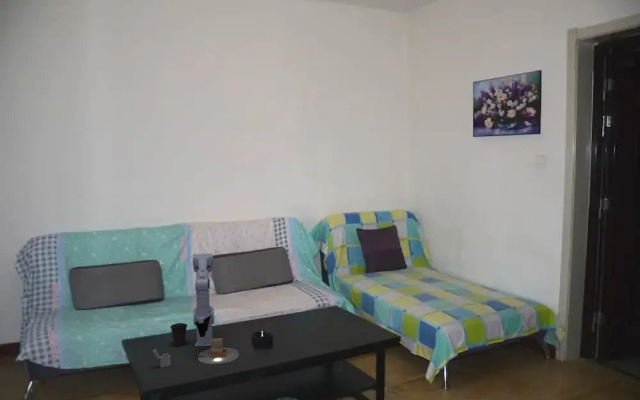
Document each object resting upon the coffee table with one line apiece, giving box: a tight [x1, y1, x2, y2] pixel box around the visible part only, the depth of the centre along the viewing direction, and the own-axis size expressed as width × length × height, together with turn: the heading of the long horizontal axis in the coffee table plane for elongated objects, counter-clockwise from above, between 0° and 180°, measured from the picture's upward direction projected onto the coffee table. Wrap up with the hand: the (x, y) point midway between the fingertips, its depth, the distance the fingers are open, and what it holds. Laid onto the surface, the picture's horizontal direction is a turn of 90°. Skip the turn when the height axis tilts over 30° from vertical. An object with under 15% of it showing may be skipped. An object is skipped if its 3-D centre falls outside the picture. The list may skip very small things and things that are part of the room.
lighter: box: [152, 348, 172, 368], centre depth 220 cm, size 7×2×8 cm, turn 117°
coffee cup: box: [170, 322, 188, 347], centre depth 246 cm, size 8×8×10 cm
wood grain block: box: [210, 337, 224, 353], centre depth 230 cm, size 3×5×7 cm, turn 94°
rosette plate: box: [197, 347, 240, 366], centre depth 230 cm, size 18×18×2 cm
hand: (203, 333), depth 233 cm, fingers open, 7 cm apart
